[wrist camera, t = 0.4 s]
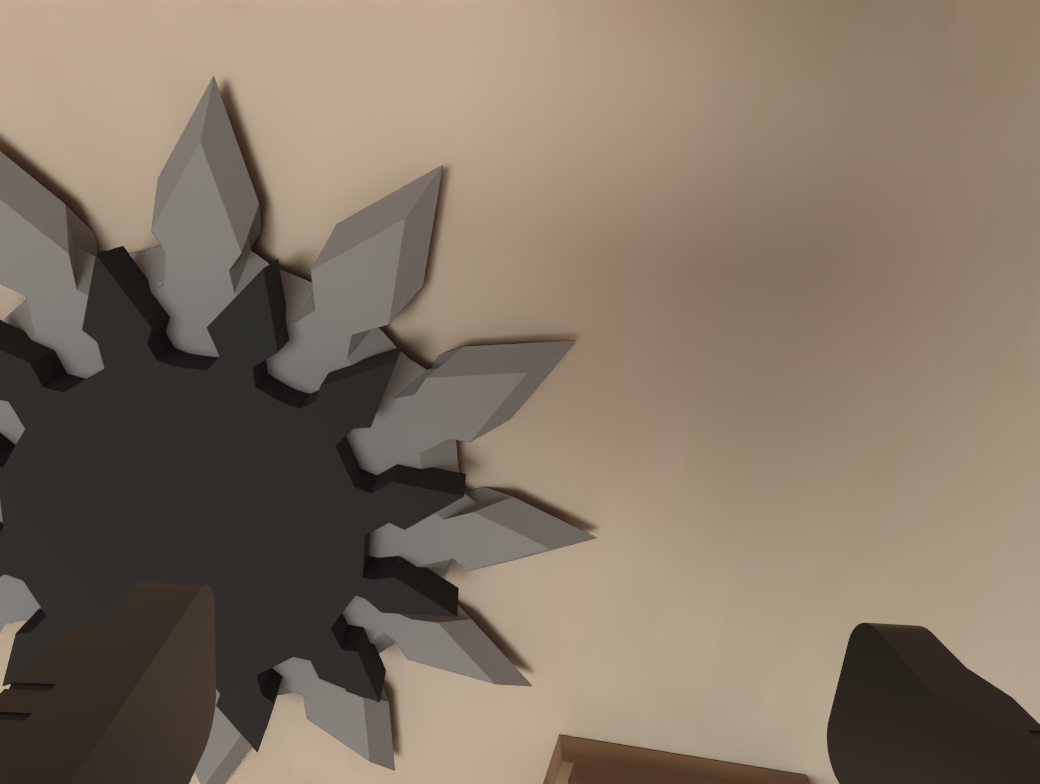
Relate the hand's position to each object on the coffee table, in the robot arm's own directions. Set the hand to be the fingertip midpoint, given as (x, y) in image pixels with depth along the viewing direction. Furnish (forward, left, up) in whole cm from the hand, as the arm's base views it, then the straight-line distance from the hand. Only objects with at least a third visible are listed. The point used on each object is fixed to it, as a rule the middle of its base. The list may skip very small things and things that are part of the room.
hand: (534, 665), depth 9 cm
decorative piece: (+9, -9, -20) cm, 23 cm away
